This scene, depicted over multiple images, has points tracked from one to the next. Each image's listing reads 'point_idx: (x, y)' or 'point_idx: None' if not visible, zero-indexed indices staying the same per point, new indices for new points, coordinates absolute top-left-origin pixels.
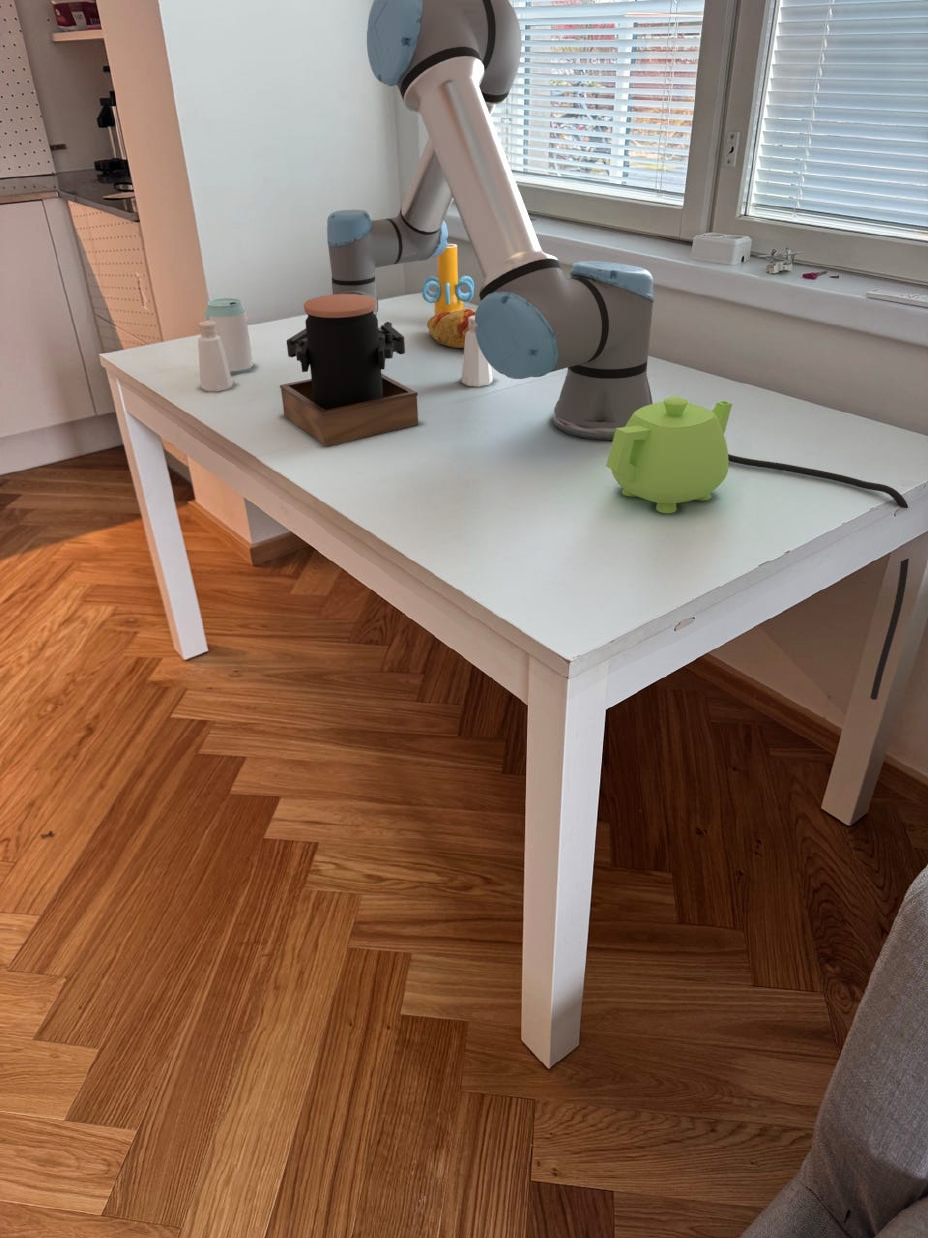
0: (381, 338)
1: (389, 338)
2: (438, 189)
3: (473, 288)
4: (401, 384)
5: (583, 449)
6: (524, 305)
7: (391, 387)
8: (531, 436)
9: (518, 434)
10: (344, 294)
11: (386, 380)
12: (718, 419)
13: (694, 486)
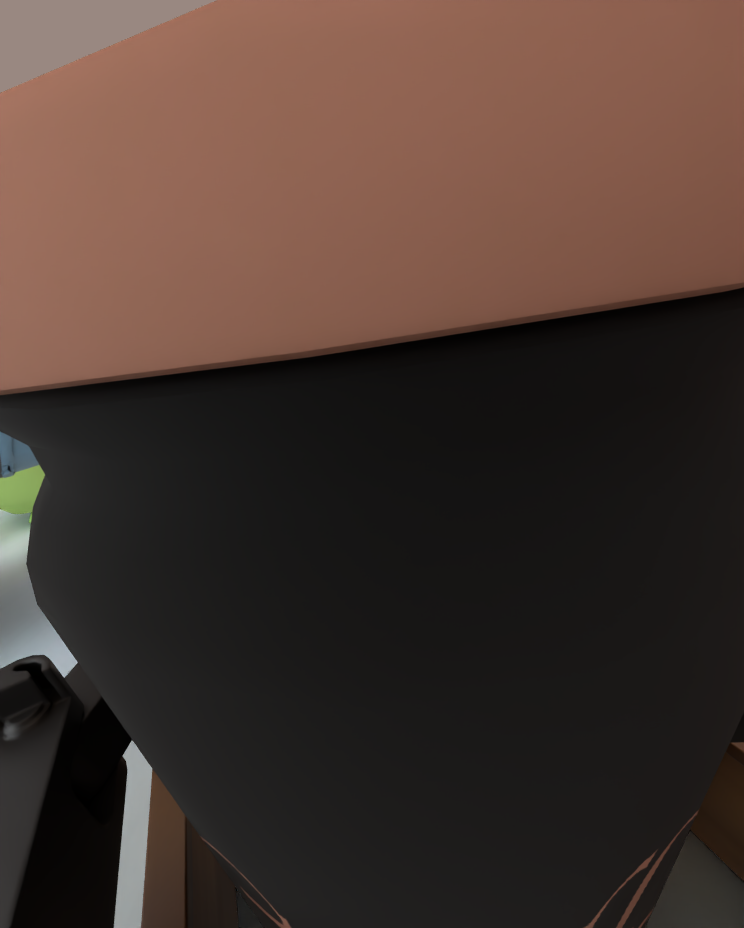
0: (59, 762)
1: (43, 681)
2: None
3: None
4: (156, 784)
5: (12, 585)
6: None
7: (193, 863)
8: (18, 639)
9: (29, 651)
10: (197, 104)
11: (188, 917)
12: None
13: None
